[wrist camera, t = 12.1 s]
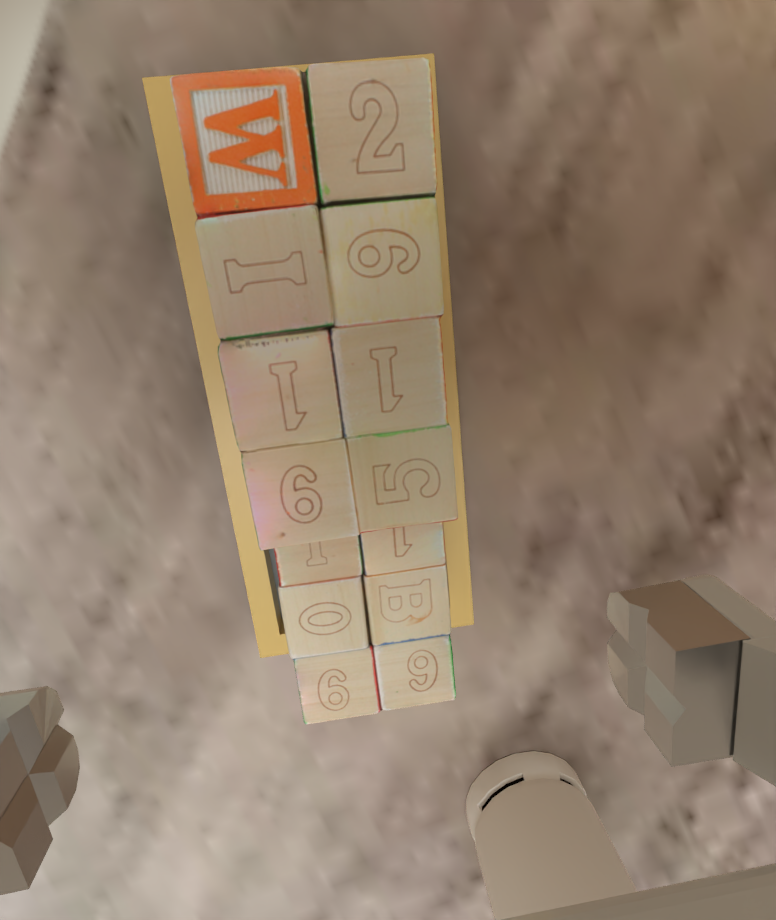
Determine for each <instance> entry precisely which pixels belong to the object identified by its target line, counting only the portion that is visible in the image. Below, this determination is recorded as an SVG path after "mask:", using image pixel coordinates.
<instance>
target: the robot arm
mask: <svg viewBox="0 0 776 920" xmlns="http://www.w3.org/2000/svg"><path fill="white" fill-rule="evenodd" d="M607 618H608V620H609V621H610V622H611V623H612V624H613V626H614V627H615V628H616V631H615V632H614V634H613V635H612V637H611V638H610V640H609V641H608V643H607V655H608V665H609V669H610V673H611V677H612V680H613V683H614V685H615V687H616V689H617V691H618V693H619V695H620V696H621V698H622V699H623V701H624V702H625V704H626V705H627V707H629V708H631V709H633V710H635V711H637V712H639V713H641V714H643V715H644V730H645V732H646V733H647V734H648V736H649V737H650V738H651V740H652V741H653V743H654V744H655V745H656V747H657V748H658V749H659V751H660V752H661V753H662V755H663V756H664V758H665V759H666V760H667V762H668V763H669V764H670V766H671V767H673V766H680V765H686V764H692V763H698V762H705V761H711V760H717V759H724V758H730V757H733V761H735V762H737V763H738V764H740V765H742V766H743V767H745V768H746V769H748V770H750V771H751V772H753V773H755V774H756V775H758V776H760V777H761V778H763V779H764V780H766V781H768V782H769V783H771V784H773V785H774V786H776V621H775V620H773V619H772V618H771V617H769V616H768V615H767V614H765V613H764V612H762V611H761V610H760V609H758V608H757V607H756V606H754V605H753V604H752V603H750V602H749V601H748V600H746V599H745V598H744V597H742V596H741V595H740V594H738V593H737V592H736V591H734V590H733V589H731V588H730V587H729V586H727V585H726V584H725V583H723V582H722V581H721V580H719V579H718V578H717V577H715V576H711V575H707V574H704V575H699V576H694V577H689V578H685V579H680V580H675V581H672V582H667V583H662V584H656V585H651V586H646V587H640V588H635V589H630V590H624V591H619V592H614V593H610V595H609V599H608V602H607ZM63 711H64V708H63V706H62V703H61V701H60V698H59V696H58V693H57V691H56V690H54V689H52V688H50V687H48V686H44V687H37V688H30V689H24V690H17V691H10V692H3V693H0V895H3V894H8V893H12V892H17V891H21V890H26V889H29V888H30V885H31V883H32V881H33V879H34V877H35V875H36V873H37V871H38V869H39V867H40V865H41V863H42V861H43V859H44V857H45V855H46V852H47V850H48V848H49V846H50V844H51V842H52V840H53V838H52V835H51V832H50V830H49V827H48V826H49V825H50V824H51V823H52V822H53V821H54V820H56V819H57V818H58V817H59V816H60V815H61V814H62V813H63V812H64V811H66V810H67V809H68V807H69V804H70V802H71V800H72V798H73V795H74V793H75V791H76V787H77V781H78V775H79V769H80V765H79V755H78V748H77V745H76V742H75V739H74V736H73V735H72V734H70V733H69V732H67V731H66V730H65V729H63V728H62V727H60V726H59V725H57V724H58V722H59V720H60V718H61V716H62V714H63ZM501 920H776V863H775V864H770V865H766V866H761V867H756V868H751V869H746V870H741V871H736V872H732V873H727V874H722V875H717V876H712V877H707V878H702V879H697V880H692V881H688V882H683V883H678V884H673V885H668V886H663V887H658V888H653V889H648V890H643V891H639V892H634V893H629V894H624V895H619V896H614V897H609V898H604V899H599V900H594V901H590V902H585V903H580V904H575V905H570V906H565V907H560V908H555V909H550V910H545V911H541V912H536V913H531V914H526V915H521V916H516V917H511V918H506V919H501Z"/></svg>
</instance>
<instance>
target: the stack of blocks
mask: <svg viewBox="0 0 776 920" xmlns="http://www.w3.org/2000/svg"><path fill="white" fill-rule="evenodd" d="M170 85H171V90H172V96H173V102H174V107H175V112H176V117H177V122H178V127H179V133H180V138H181V143H182V148H183V153H184V159H185V165H186V170H187V175H188V180H189V186H190V191H191V197H192V202H193V207H194V210H195V212H196V215H197V220H196V222H195V231H196V236H197V241H198V245H199V250H200V255H201V260H202V265H203V269H204V274H205V279H206V284H207V289H208V294H209V299H210V304H211V308H212V313H213V318H214V322H215V327H216V331H217V335H218V337H219V339H220V340H221V341H220V344H219V346H218V358H219V362H220V368H221V373H222V377H223V381H224V386H225V391H226V396H227V401H228V406H229V411H230V415H231V420H232V425H233V430H234V435H235V440H236V443H237V446H238V448H239V450H240V452H241V459H242V468H243V473H244V478H245V482H246V487H247V492H248V497H249V502H250V507H251V512H252V517H253V521H254V526H255V531H256V535H257V540H258V546H259V548H260V550H267V549H273V548H274V553H275V558H276V565H277V571H278V577H279V585H278V593H279V599H280V605H281V612H282V618H283V624H284V629H285V635H286V640H287V645H288V651H289V656H290V657H291V658H292V659H293V660H294V665H295V672H296V678H297V684H298V690H299V696H300V701H301V708H302V713H303V719H304V723H305V724H312V723H318V722H325V721H331V720H337V719H343V718H350V717H357V716H364V715H371V714H377V713H378V712H379V711H381V710H393V709H399V708H406V707H413V706H419V705H424V704H432V703H437V702H444V701H449V700H455V698H456V690H455V678H454V668H453V654H452V646H451V639H450V633H451V618H450V606H449V594H448V582H447V570H446V564H445V562H446V552H445V539H444V529H443V522H448V521H454V520H457V519H458V506H457V495H456V482H455V469H454V457H453V444H452V430H451V427H450V425H449V423H448V417H447V397H446V384H445V372H444V359H443V344H442V332H441V324H440V319H441V317H442V315H443V314H444V299H443V283H442V270H441V257H440V241H439V223H438V207H437V202H436V199H435V194H436V190H437V184H438V182H437V167H436V148H435V129H434V110H433V92H432V76H431V67H430V62H429V59H427V58H424V57H422V58H409V59H395V60H377V61H360V62H340V63H317V64H311V65H309V66H308V68H307V69H306V71H305V72H302V71H301V70H300V69H299V68H295V67H272V68H259V69H244V70H230V71H218V72H205V73H193V74H182V75H177V76H172V77H171V78H170Z"/></svg>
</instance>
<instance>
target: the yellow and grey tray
mask: <svg viewBox="0 0 776 920" xmlns="http://www.w3.org/2000/svg"><path fill="white" fill-rule="evenodd" d="M422 57H424V58H427V59H429V62H430V67H431V76H432V92H433V110H434V129H435V148H436V167H437V182H438V184H437V190H436V194H435V199H436V202H437V207H438V223H439V241H440V257H441V270H442V283H443V299H444V314H443V315H442V317H441V319H440V324H441V332H442V344H443V359H444V372H445V384H446V397H447V417H448V423H449V425H450V427H451V430H452V444H453V457H454V469H455V482H456V495H457V506H458V519H457V520H454V521H448V522H443V529H444V539H445V552H446V562H445V564H446V570H447V582H448V594H449V606H450V618H451V628H453V627H460V626H466V625H472V624H474V617H473V603H472V589H471V575H470V561H469V546H468V532H467V518H466V504H465V489H464V475H463V461H462V447H461V432H460V418H459V404H458V390H457V376H456V361H455V347H454V333H453V319H452V304H451V290H450V276H449V262H448V247H447V233H446V219H445V205H444V191H443V176H442V162H441V148H440V134H439V119H438V105H437V91H436V77H435V62H434V53H433V54H421V55H410V56H398V57H386V58H374V59H362V60H350V61H338V62H326V63H340V62H360V61H377V60H395V59H409V58H422ZM314 64H317V63H314ZM309 65H311V64H302V65H290V66H278V67H295V68H299V69H300V70H301V71H302V72H305V71H306V69H307V68H308V66H309ZM266 68H272V67H266ZM255 69H259V68H255ZM243 70H244V69H243ZM172 76H177V75H171V76H159V77H147V78H142V80H143V85H144V90H145V95H146V100H147V105H148V110H149V115H150V119H151V124H152V129H153V134H154V139H155V144H156V149H157V154H158V159H159V164H160V168H161V173H162V178H163V183H164V188H165V193H166V198H167V203H168V208H169V213H170V217H171V222H172V227H173V232H174V237H175V242H176V247H177V252H178V257H179V262H180V266H181V271H182V276H183V281H184V286H185V291H186V296H187V301H188V306H189V311H190V315H191V320H192V325H193V330H194V335H195V340H196V345H197V350H198V355H199V359H200V364H201V369H202V374H203V379H204V384H205V389H206V394H207V399H208V404H209V408H210V413H211V418H212V423H213V428H214V433H215V438H216V443H217V448H218V453H219V457H220V462H221V467H222V472H223V477H224V482H225V487H226V492H227V497H228V502H229V506H230V511H231V516H232V521H233V526H234V531H235V536H236V541H237V546H238V551H239V555H240V560H241V565H242V570H243V575H244V580H245V585H246V590H247V595H248V599H249V604H250V609H251V614H252V619H253V624H254V629H255V634H256V639H257V644H258V648H259V653H260V658H263V657H270V656H276V655H282V654H289V651H288V645H287V640H286V635H285V629H284V624H283V618H282V612H281V605H280V599H279V593H278V585H279V577H278V571H277V565H276V558H275V553H274V548H273V549H267V550H260V548H259V546H258V540H257V535H256V531H255V526H254V521H253V517H252V512H251V507H250V502H249V497H248V492H247V487H246V482H245V478H244V473H243V468H242V459H241V452H240V450H239V448H238V446H237V443H236V440H235V435H234V430H233V425H232V420H231V415H230V411H229V406H228V401H227V396H226V391H225V386H224V381H223V377H222V373H221V368H220V362H219V358H218V346H219V344H220V341H221V340H220V339H219V337H218V335H217V331H216V327H215V322H214V318H213V313H212V308H211V304H210V299H209V294H208V289H207V284H206V279H205V274H204V269H203V265H202V260H201V255H200V250H199V245H198V241H197V236H196V231H195V222H196V220H197V215H196V212H195V210H194V207H193V202H192V197H191V191H190V186H189V180H188V175H187V170H186V165H185V159H184V153H183V148H182V143H181V138H180V133H179V127H178V122H177V117H176V112H175V107H174V102H173V96H172V90H171V85H170V78H171V77H172Z"/></svg>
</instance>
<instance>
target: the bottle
mask: <svg viewBox="0 0 776 920" xmlns="http://www.w3.org/2000/svg"><path fill="white" fill-rule="evenodd" d="M522 777H523V778H524V781H522V782H519V783H517V784H514V785H512V786H509V787H507V788H506V789H504V790H503V791H502V792H500V793H499V794H497V795H496V796H495V797H493V798H492V800H491V801H490V802H489V803H488V805H487V806H486V807H485V808H484V810H483V811H482V806H483V805H484V804H485V802H486V801H487V800H488V799H489V797H490V796H491V795H492V794H493V793H494V792H496V791H497V790H498V789H500V788H501V787H503V786H504V785H505V784H507V783H509V782H512V781H514V780H517V779H519V778H522ZM560 778H561V779H563V780H565V781H568V782H570V783H571V784H572V785H573V786H572V785H570V784H568V783H566V782H563V781H561V780H560ZM466 816H467V820H468V824H469V827H470V831H471V835H472V837H473V839H474V841H475V845H476V853H477V857H478V860H479V864H480V868H481V871H482V875H483V879H484V882H485V886H486V890H487V893H488V897H489V901H490V904H491V908H492V912H493V915H494V919H495V920H501V919H506V918H511V917H516V916H521V915H526V914H531V913H536V912H541V911H545V910H550V909H555V908H560V907H565V906H570V905H575V904H580V903H585V902H590V901H594V900H599V899H604V898H609V897H614V896H619V895H624V894H629V893H634V892H637V890H636V888H635V886H634V884H633V882H632V880H631V878H630V876H629V874H628V872H627V870H626V868H625V867H624V865H623V863H622V861H621V859H620V857H619V855H618V853H617V851H616V849H615V847H614V845H613V843H612V841H611V840H610V838H609V836H608V834H607V832H606V830H605V828H604V826H603V824H602V822H601V820H600V818H599V816H598V815H597V813H596V811H595V809H594V807H593V805H592V803H591V802H590V801H589V800H588V797H587V795H586V792H585V789H584V788H583V786H582V784H581V782H580V780H579V778H578V776H577V774H576V772H575V770H574V769H573V768H572V767H571V766H570V765H569V764H568V763H567V762H566V761H565V760H563V759H561V758H559V757H557V756H555V755H553V754H551V753H544V752H537V751H529V752H522V753H515V754H512V755H510V756H507V757H505V758H502V759H500V760H497V761H496V762H494V763H493V764H492V765H490V766H489V767H487V768H486V769H485V770H483V771H482V772H481V773H480V774H479V776H478V777H477V778H476V780H475V781H474V782H473V783H472V785H471V787H470V789H469V792H468V795H467V798H466Z"/></svg>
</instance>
